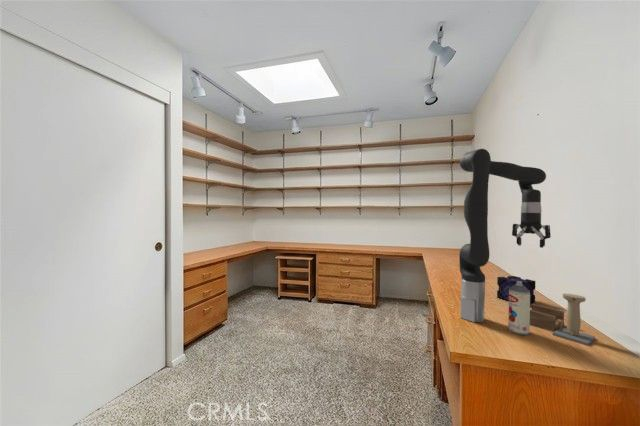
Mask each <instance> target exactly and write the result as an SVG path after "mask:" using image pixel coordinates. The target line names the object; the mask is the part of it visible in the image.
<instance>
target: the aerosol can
mask: <svg viewBox="0 0 640 426" xmlns="http://www.w3.org/2000/svg"><path fill="white" fill-rule="evenodd" d="M530 310H531V304H530V291H529V290H527V288H526V287H524V286H523V285H522V282H520V281H517V284H515V285H513V286H512V287H510V289H509V301H508V321H507V322H508V324H507V327H508V331H509V332H511V333H512V332H513V334H515V335H518V336H519V335H520V336H529V335H530V327H531V325H530Z"/></svg>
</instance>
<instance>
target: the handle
mask: <svg viewBox="0 0 640 426" xmlns="http://www.w3.org/2000/svg"><path fill="white" fill-rule="evenodd" d="M562 298H563V299H564V300H566V301H567V308H566V309H567V310H566V322H565V323H566V329H568V334H570V335H573V336H579V332H580V331H581V324H582V323H581V306H580V305H581V303H584V302H586V297H585V296H584V295H583V296H582V295H578V294H572V293H562Z"/></svg>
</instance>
